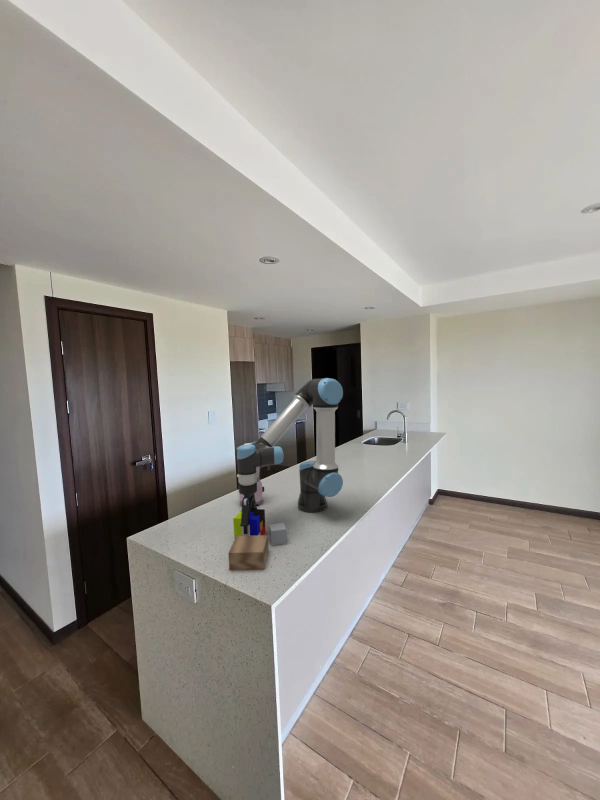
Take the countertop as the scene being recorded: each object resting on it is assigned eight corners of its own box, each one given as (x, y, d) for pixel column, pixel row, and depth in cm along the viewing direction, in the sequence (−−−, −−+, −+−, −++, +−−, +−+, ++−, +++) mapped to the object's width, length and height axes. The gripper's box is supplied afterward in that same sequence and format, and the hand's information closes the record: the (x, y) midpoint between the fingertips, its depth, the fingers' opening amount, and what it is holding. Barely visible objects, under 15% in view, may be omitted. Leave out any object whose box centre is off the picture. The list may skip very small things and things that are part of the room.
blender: (240, 509, 163) (236, 447, 161) (238, 500, 174) (235, 442, 172) (270, 505, 166) (267, 444, 164) (267, 497, 178) (264, 440, 176)
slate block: (284, 536, 132) (283, 522, 132) (286, 543, 127) (286, 529, 126) (269, 538, 131) (269, 524, 131) (271, 546, 125) (271, 531, 125)
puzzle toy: (258, 543, 127) (256, 519, 127) (234, 542, 129) (233, 518, 129) (265, 532, 137) (264, 509, 137) (243, 530, 139) (242, 508, 139)
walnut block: (268, 550, 122) (267, 535, 122) (263, 569, 110) (263, 552, 110) (237, 551, 122) (236, 535, 122) (229, 569, 110) (228, 552, 110)
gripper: (244, 474, 144) (247, 519, 146) (231, 493, 120) (233, 548, 121) (261, 473, 144) (263, 519, 145) (251, 493, 119) (253, 548, 121)
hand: (249, 532), depth 133 cm, fingers open, 13 cm apart
